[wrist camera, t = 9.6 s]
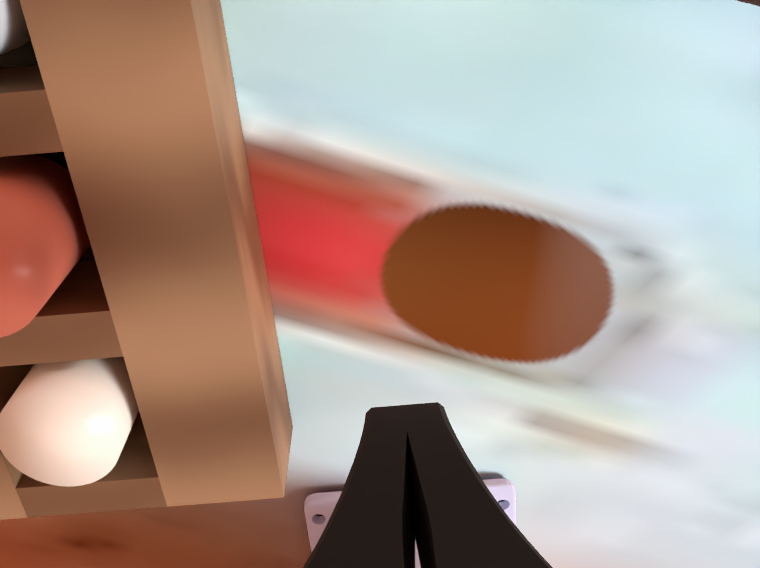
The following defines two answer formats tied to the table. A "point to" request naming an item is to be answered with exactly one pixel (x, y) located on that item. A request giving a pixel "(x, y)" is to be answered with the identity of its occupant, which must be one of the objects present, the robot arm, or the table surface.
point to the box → (751, 2)
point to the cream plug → (69, 420)
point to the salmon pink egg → (35, 236)
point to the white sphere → (12, 26)
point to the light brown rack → (151, 254)
